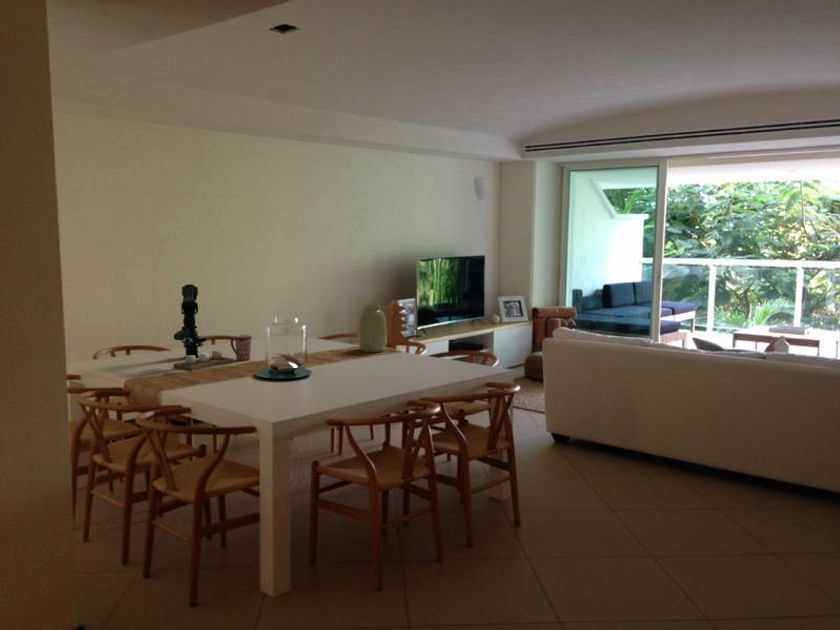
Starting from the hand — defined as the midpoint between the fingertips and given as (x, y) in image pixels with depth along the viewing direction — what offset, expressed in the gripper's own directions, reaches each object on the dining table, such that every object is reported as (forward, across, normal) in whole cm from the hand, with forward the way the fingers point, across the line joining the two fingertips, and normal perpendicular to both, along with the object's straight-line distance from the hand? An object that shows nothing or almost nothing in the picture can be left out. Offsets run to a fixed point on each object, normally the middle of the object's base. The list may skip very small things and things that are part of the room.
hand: (190, 354), depth 381 cm
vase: (+7, +44, +100) cm, 109 cm away
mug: (+7, +4, +32) cm, 33 cm away
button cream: (+5, 0, +9) cm, 10 cm away
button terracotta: (+5, 0, +18) cm, 19 cm away
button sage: (+5, 0, 0) cm, 5 cm away
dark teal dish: (+7, +52, +14) cm, 54 cm away
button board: (+7, 0, +9) cm, 11 cm away
